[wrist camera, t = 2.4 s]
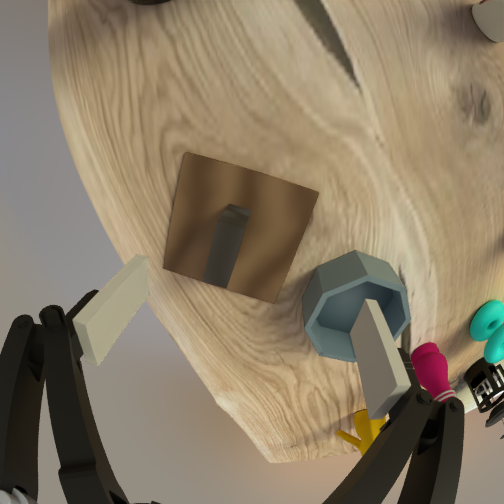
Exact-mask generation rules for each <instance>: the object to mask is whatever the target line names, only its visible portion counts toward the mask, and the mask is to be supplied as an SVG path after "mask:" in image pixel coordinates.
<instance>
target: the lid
mask: <svg viewBox="0 0 504 504" xmlns="http://www.w3.org/2000/svg"><path fill="white" fill-rule="evenodd" d="M318 195H319V192H317V191H314V190H311V189H308V188H306V187H303V186H300V185H297V184H294V183H291V182H288V181H285V180H282V179H279V178H276V177H273V176H270V175H267V174H263V173H260V172H257V171H254V170H250V169H247V168H244V167H240V166H237V165H233V164H230V163H226V162H223V161H219V160H215V159H212V158H208V157H204V156H200V155H196V154H192V153H188V152H185V155H184V159H183V163H182V168H181V172H180V177H179V181H178V186H177V191H176V196H175V201H174V206H173V211H172V217H171V222H170V228H169V234H168V240H167V247H166V253H165V260H164V267H163V268H164V269H167V270H170V271H173V272H176V273H178V274H181V275H184V276H187V277H190V278H193V279H196V280H199V281H202V282H205V283H209V284H212V285H215V286H218V287H221V288H224V289H227V290H230V291H234V292H237V293H240V294H243V295H247V296H250V297H253V298H256V299H260V300H263V301H266V302H270V303H273V304H275V302H276V299H277V297H278V295H279V292H280V290H281V288H282V285H283V283H284V281H285V278H286V276H287V273H288V271H289V269H290V266H291V264H292V261H293V259H294V256H295V254H296V251H297V249H298V247H299V244H300V242H301V239H302V237H303V234H304V232H305V229H306V226H307V224H308V221H309V219H310V216H311V214H312V211H313V208H314V206H315V203H316V201H317V198H318Z"/></svg>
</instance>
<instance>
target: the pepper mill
mask: <svg viewBox="0 0 504 504" xmlns="http://www.w3.org/2000/svg"><path fill="white" fill-rule="evenodd" d="M411 362H412V364H413V367H414V368H415V369H414V371H415V373H416V376H417V378H418V381H419V383H420V385H421V386H423V387H424V388H425V389H426V390H427V391H428V392H429V393H430V394H431V395H432V397H433V400H436V401H440V402H445V401H446V400H447V399H448V398H449V397H457V395H456V394H455V391H454V390H451V388H450V386H449V383H448V365H447V361H446V358H445V356H444V355H443V354H441V353H439V349H438V347H437V346H436V344H435V343H426V344H423V345H421V346H420V347H418V348H417V349H416V350H415V351H414V352H413V354H412V356H411ZM460 401H461V400H460ZM461 402H462V401H461Z"/></svg>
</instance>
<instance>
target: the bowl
mask: <svg viewBox="0 0 504 504" xmlns="http://www.w3.org/2000/svg"><path fill="white" fill-rule="evenodd" d="M365 299H371V300H376V301H377V303H378V305H379V307H380V309H381V311H382V314H383V316H384V318H385V320H386V323H387V325H388V327H389V330H390V332H391V334H392V337H393V339H394V342H395V341H396V339H397V338H398V337H399V335H400V334H401V333H402V331H403V330H404V328H405V327H406V326H407V324H408V323H409V321H410V320H411V316H410V310H409V305H408V300H407V295H406V290H405V287H404V285H403V284H402V282H401V280H400V279H399V277H398V276H397V274H396V273H395V271H394V270H393V268H392V267H391V265H390V264H389V262H386V261H383V260H381V259H378V258H375V257H373V256H370V255H367V254H364V253H362V252H359V251H356V250H354V251H352V252H350V253H348V254H345V255H343V256H341V257H338V258H336V259H334V260H331V261H329V262H327V263H324V264H322V265H319V266H317V268H316V270H315V273H314V275H313V277H312V279H311V281H310V283H309V285H308V287H307V289H306V292H305V294H304V296H303V298H302V305H303V319H304V329H305V331H306V333H307V334H308V336H309V338H310V340H311V342H312V344H313V345H314V347H315V349H316V351H317V353H318V355H319V356H323V357H328V358H333V359H338V360H342V361H347V362H353V363H354V362H357V360H356V356H355V352H354V348H353V344H352V340H351V336H350V332H351V330H352V328H353V325H354V323H355V321H356V319H357V317H358V315H359V312H360V310H361V308H362V306H363V303H364V301H365Z"/></svg>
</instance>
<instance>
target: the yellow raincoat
mask: <svg viewBox="0 0 504 504" xmlns="http://www.w3.org/2000/svg"><path fill="white" fill-rule="evenodd" d="M385 423H386V418H385V416H384V418H383V419H369V417H368V412H367V409H366V410H362V411H359V412H356V413H355V416H354V425H355V429H356V432H357V434H358V436H359V437H360V438H361V441H360V440H359V439H357V438H355V437H354V436H352V435H350V434H348V433H346V432H344V431H342V430H340V429H339V431H338V432H337V433H336V434H337V435H338V436H340V437H341V438H343V439H344V440H345V441H347V442H349V443H351V444H353V445H354V446H356V447H357V449H359V450H360V451H361V455H362V457H363V455H364V454H365V453H366V451H367V450H368V448H369V447H370V446H371V444H372V443H373V441H374V440H375V438H376V437H377V436H378V434H379V433H380V430H379V429H380V428H381V427H382V426H383V425H384V424H385Z"/></svg>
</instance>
